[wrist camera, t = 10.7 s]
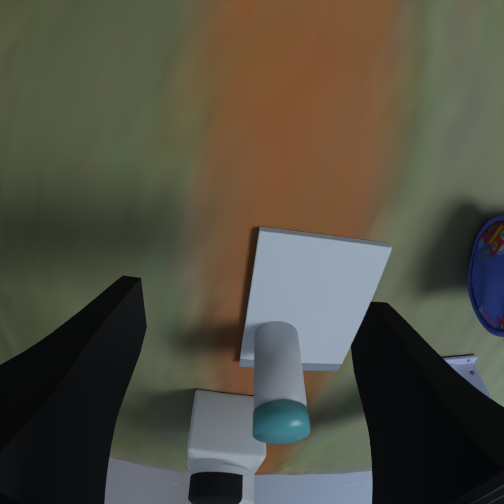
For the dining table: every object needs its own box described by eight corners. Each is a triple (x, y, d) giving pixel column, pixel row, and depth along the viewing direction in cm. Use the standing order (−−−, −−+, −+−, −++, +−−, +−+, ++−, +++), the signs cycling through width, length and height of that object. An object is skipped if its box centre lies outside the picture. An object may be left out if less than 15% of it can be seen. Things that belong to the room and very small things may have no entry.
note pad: (389, 243, 20) (392, 248, 19) (336, 365, 26) (338, 371, 26) (259, 226, 19) (259, 231, 19) (239, 360, 26) (239, 366, 25)
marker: (303, 322, 23) (317, 421, 15) (292, 352, 25) (301, 444, 17) (257, 318, 23) (257, 419, 15) (250, 348, 24) (248, 442, 17)
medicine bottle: (194, 418, 32) (182, 509, 22) (195, 387, 29) (180, 497, 18) (253, 425, 33) (252, 516, 22) (265, 395, 29) (267, 505, 19)
